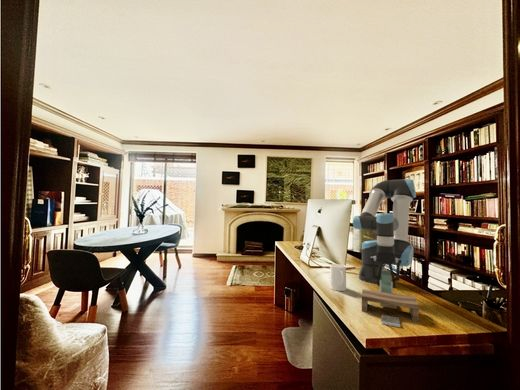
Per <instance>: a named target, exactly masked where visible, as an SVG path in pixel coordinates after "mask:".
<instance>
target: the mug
mask: <svg viewBox="0 0 520 390" xmlns="http://www.w3.org/2000/svg"><path fill="white" fill-rule="evenodd" d="M329 267H330V268H329V288H330V289H331V290H333V291H337V292H343V291H347V266H346V265H345V264H340V263H331V264H330V265H329Z"/></svg>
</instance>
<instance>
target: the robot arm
mask: <svg viewBox="0 0 520 390" xmlns="http://www.w3.org/2000/svg"><path fill="white" fill-rule="evenodd" d="M368 195H369V197H368V199H367V201H366V202H365V205H364V207H363V209H362V211H361V213H360V215H355V216H353V217H352V225H353V228H354V229H356V230H362V231H363V230H365V231H376V239H375V240H373V239H372V240H365V241H363V242H362V243H361V267H360V270H359V272H358V273H359V274H358V278H359V280H361V281H363V282H367V283H374V284H376V286H377V287H379V292H382V284H381V271H382V270H384V265H387V266H388V267H389V271H390V272H391V293H393V292H394V291H393V290H394V289H396V282H397V281H400V278H401V277H400V276H401V273H400V272H401V267H410V265H412V262H413V257H414V251H415V250H414V246H413V245H411V242H410V241H409V240H408V237H409V234H408V233H409V222H410V220H409V216H410V203H412V202H413V199H414V198H417V192H416V187H415V181H414V180H413V179H412V178H410V179H407V178H403V179H391V180H390V179H387V180H382V181H380V182H378V183H376V184H375V185H373V187H372V188H371V189H370V190H369V194H368ZM385 199H390V200H391V201H392V202H393V204H392V213H385V212H383V213H378V210H379V209H380V206H381V203H382V202H383V201H384V200H385ZM393 266H396V271H395V272H396V275H395V274H394V270H393ZM395 276H396V277H395ZM393 294H394V293H393Z"/></svg>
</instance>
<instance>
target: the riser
mask: <svg viewBox="0 0 520 390" xmlns="http://www.w3.org/2000/svg"><path fill="white" fill-rule="evenodd" d="M361 291H362V292H361V312H365V313H367V312H368V304H369V303H368V302H371V303H377V304H378V303H379V304H380V303H383V304H389V305H395V306H397V307H402V308H408V310H409V314H410V316H411V320H412V321H414V320H415V322H420V315H419V314H420V312H419V309H420V308H419V306H420V305H419V303H418V301H417V299H416V297H415V296H412V295H407V294H406V295H405V294H398V293H386V292H380V290H379V291H377V290H371V289H364V288H363V289H362V290H361Z"/></svg>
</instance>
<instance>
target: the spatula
mask: <svg viewBox="0 0 520 390" xmlns="http://www.w3.org/2000/svg"><path fill="white" fill-rule="evenodd" d="M391 280H392V277H391V272H390V270H386V269H385V270H382V271H381V284H382V292H386V293H391ZM379 305H380V307H385V308H389V309H390V308H391V309H397V308H398V306H395V305H389V304H383V303H379Z"/></svg>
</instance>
